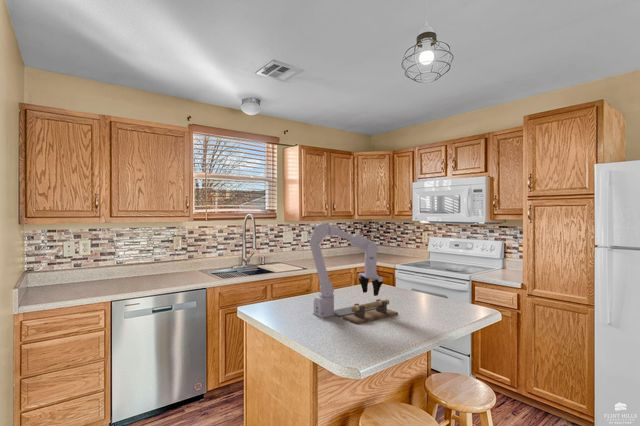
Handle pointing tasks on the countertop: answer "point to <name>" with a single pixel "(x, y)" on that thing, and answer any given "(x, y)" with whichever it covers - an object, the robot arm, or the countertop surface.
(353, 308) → the rail
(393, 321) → the countertop surface
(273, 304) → the countertop surface
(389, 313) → the hook stand
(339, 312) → the mat
